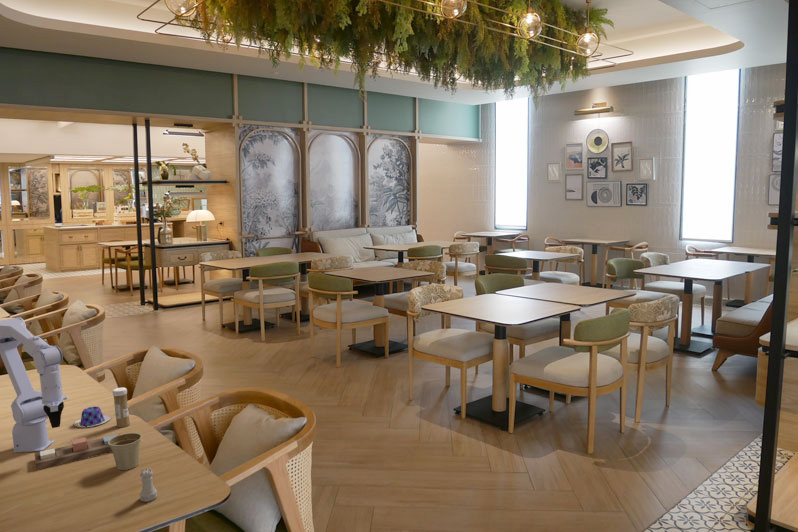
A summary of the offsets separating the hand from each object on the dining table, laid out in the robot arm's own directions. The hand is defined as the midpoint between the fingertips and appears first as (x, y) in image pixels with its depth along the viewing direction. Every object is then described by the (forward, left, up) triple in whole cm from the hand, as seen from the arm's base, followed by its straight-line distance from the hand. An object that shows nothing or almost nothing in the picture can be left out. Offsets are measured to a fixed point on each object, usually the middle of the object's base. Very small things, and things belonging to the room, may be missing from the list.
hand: (55, 426), depth 196 cm
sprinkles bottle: (+11, +24, -10) cm, 28 cm away
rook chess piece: (+40, -31, -10) cm, 51 cm away
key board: (+7, 0, -10) cm, 12 cm away
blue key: (+14, +5, -9) cm, 18 cm away
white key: (-1, -4, -9) cm, 10 cm away
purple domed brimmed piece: (-2, +29, -10) cm, 31 cm away
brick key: (+7, 0, -8) cm, 10 cm away
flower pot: (+26, -10, -10) cm, 29 cm away
